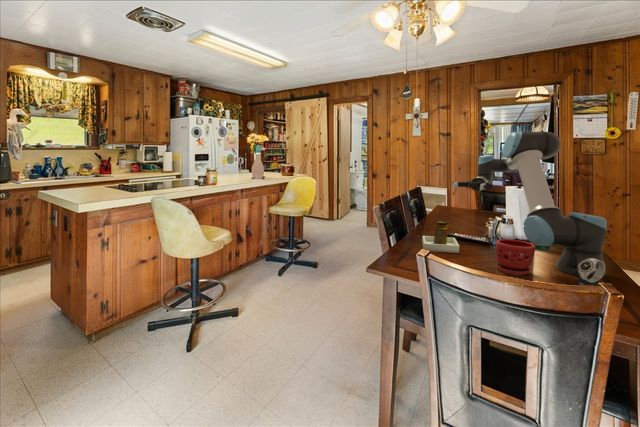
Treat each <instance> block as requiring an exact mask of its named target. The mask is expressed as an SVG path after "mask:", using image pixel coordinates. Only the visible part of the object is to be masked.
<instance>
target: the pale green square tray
mask: <svg viewBox="0 0 640 427" xmlns="http://www.w3.org/2000/svg"><path fill="white" fill-rule="evenodd" d="M421 240H422V241H421V243H422V249H427V250H430V251H429V252H439V253H451V254H460V244H459V243H458V241H457V239H456V238H455V237H452V236H451V237H448V236H447V245H444V244H431V243H434V236H433V235H432V236H431V235H422V239H421Z"/></svg>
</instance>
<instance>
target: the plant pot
mask: <svg viewBox="0 0 640 427" xmlns="http://www.w3.org/2000/svg"><path fill="white" fill-rule="evenodd" d="M535 251H536V250H535V245H534V244H531V242H529V241H524V240H517V239H508V238H507V239H505V238H504V239H497V240H496V245H495V256H496V261H497V263H496V264H495V268H497V270H498V271H501V272H503V273H505V274H508V275H512V276H524V275H525V276H526V275H528V274H529V273H530V272H531V269H530V268H529V267H530V266H531V265H532V262H533V260H534V256H535Z"/></svg>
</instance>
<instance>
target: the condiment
mask: <svg viewBox="0 0 640 427" xmlns="http://www.w3.org/2000/svg"><path fill="white" fill-rule="evenodd" d="M448 229H449V228H448V222H447V221H443V220H439V221H436V222H435V226H434V243H431V244H444V245H447V237H448Z"/></svg>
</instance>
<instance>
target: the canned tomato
mask: <svg viewBox="0 0 640 427" xmlns="http://www.w3.org/2000/svg"><path fill="white" fill-rule="evenodd" d="M530 243H531V242H530ZM531 244H533V243H531ZM534 245H535V244H534ZM550 250H551V246H542V245H535V251H540V252H550Z"/></svg>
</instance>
